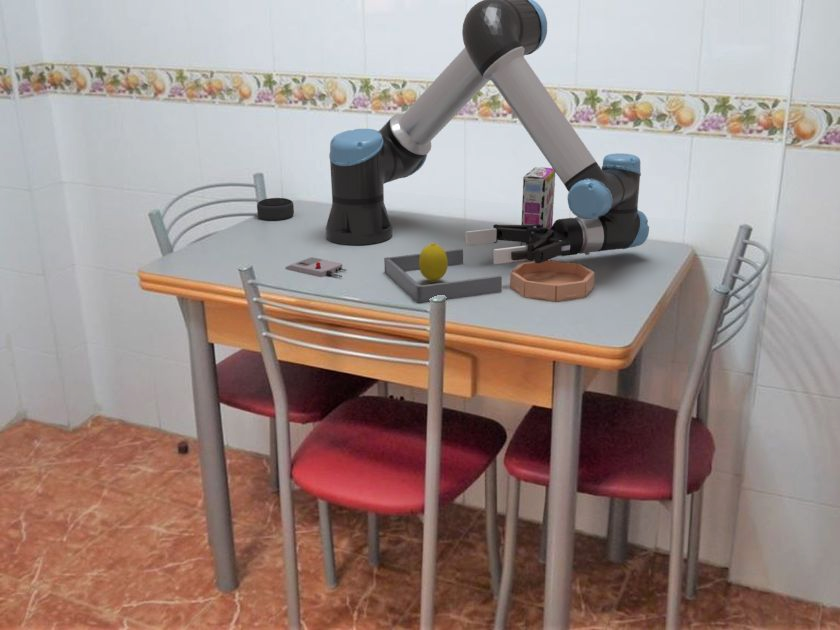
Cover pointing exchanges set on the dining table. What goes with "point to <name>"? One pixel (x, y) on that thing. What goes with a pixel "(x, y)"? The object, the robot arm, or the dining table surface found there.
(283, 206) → the smart speaker
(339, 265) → the moisture meter
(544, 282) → the bowl
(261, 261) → the dining table surface
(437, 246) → the lemon
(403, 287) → the grey u-shaped fence
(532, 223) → the candy bar box
